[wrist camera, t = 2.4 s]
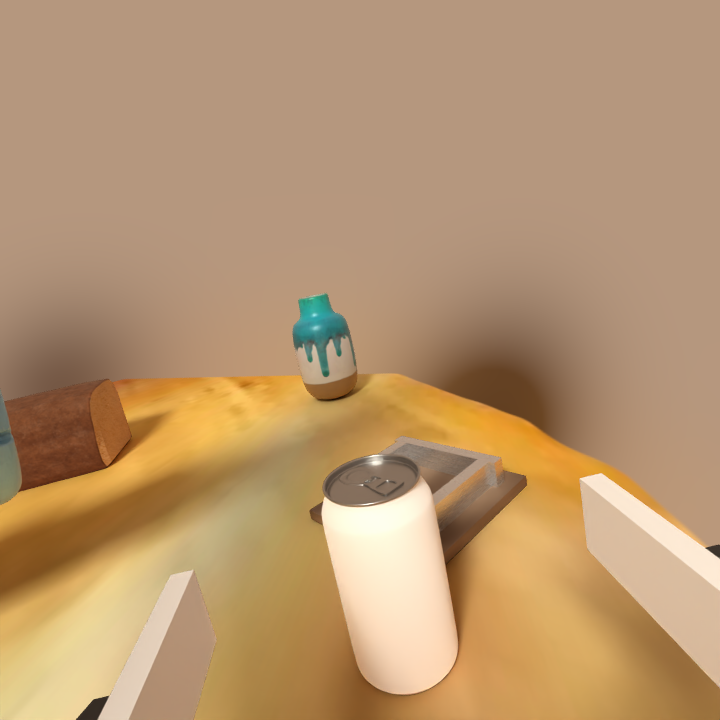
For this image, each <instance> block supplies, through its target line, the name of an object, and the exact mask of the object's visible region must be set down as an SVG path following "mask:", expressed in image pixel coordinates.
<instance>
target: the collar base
mask: <svg viewBox="0 0 720 720" xmlns="http://www.w3.org/2000/svg"><path fill="white" fill-rule="evenodd" d="M419 467H420V470H421V476H422V478H423V479H424V480H425V481H426V483H427V484H428V486H429V488H430V490H431V493H432V495H433V494H434V493H435V492H437V491H438V490H439V489H440V488H442V487H443V486H444V485H445V484H447V483H448V482H449V481H451V480H452V479H453V478H454V477H456V476H454V475H451V474H447V473H443V472H440V471H436V470H433V469H429V468H425V467H422V466H419ZM503 474H504V481H505V482H504V483H502V484H501V485H500V486H499V487H494V486H492V487H490V488H489V489H488V490H487V491H486V492H485V493H484V494H483V495H481V496H480V497H479V498H478V499H477V500H476V501H475V502H474V503H473V504H471V505H470V506H469V507H468V508H467V509H466V510H465V511H464V512H462V513H461V514H460V515H459V516H458V517H457V518H456V519H455V520H453V521H452V522H451V523H450V524H449V525H448V526H447V527H446V528H444V529H443V530H442V531H441V532H440V538H441V544H442V550H443V555H444V561H445V565H446V564H447V563H448V562H449V561H450V560H451V559H452V558H453V557H454V556H455V555H456V554H457V553H458V552H459V551H460V550H461V549H462V548H463V547H464V546H465V545H466V544H467V543H468V542H469V541H470V540H471V539H472V538H473V537H474V536H475V535H476V534H478V533H479V532H480V531H481V530H482V529H483V528H484V527H485V526H486V525H487V524H488V523H489V522H490V521H491V520H492V519H493V518H494V517H495V516H496V515H497V514H498V513H499V512H500V511H501V510H502V509H503V508H504V507H505V506H506V505H507V504H508V503H509V502H510V501H511V500H512V499H513V498H514V497H515V496H516V495H517V494H518V493H519V492H520V491H521V490H522V489H523V488H524V487H526V486H527V482H526V476H524V475H520V474H516V473H512V472H508V471H504V470H503ZM322 505H323V502H322V503H320V504H319V505H317V506H315V507H314V508H312V509H311V510H310V514H311V518H312V519H313V520H315V521H316V522H318V523H320V524H322V525H323V521H322Z"/></svg>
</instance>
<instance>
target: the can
mask: <svg viewBox="0 0 720 720" xmlns="http://www.w3.org/2000/svg"><path fill="white" fill-rule="evenodd" d="M322 489H323V493H324V495H325V498H324V501H323V505H322V521H323V526H324V531H325V535H326V540H327V544H328V548H329V552H330V557H331V561H332V565H333V569H334V573H335V578H336V582H337V586H338V590H339V594H340V598H341V603H342V607H343V611H344V615H345V619H346V623H347V627H348V631H349V635H350V639H351V643H352V647H353V651H354V655H355V659H356V662H357V665H358V668H359V670H360V672H361V674H362V675H363V677H364V678H365V679H366V680H367V681H368V682H369V683H370V684H372V685H373V686H374V687H376V688H378V689H380V690H382V691H385V692H388V693H391V694H396V695H413V694H417V693H421V692H424V691H426V690H428V689H430V688H432V687H433V686H435V685H436V684H438V683H439V682H440V681H441V680H442V679H443V678H444V677H445V676H446V675H447V674H448V673H449V671H450V670H451V668H452V667H453V665H454V663H455V660H456V657H457V653H458V637H457V630H456V624H455V618H454V612H453V606H452V601H451V595H450V589H449V583H448V578H447V572H446V566H445V561H444V555H443V550H442V544H441V538H440V533H439V527H438V522H437V516H436V511H435V506H434V501H433V496H432V493H431V490H430V488H429V486H428V484H427V483H426V481H425V480H424V479H423V478H422V476H421V470H420V467H419V465H418V464H417V463H416V462H415V461H414V460H413V459H411V458H409V457H406V456H402V455H397V454H376V455H369V456H365V457H361V458H357V459H354V460H352V461H349V462H347V463H345V464H343V465H341V466H339V467H338V468H336V469H335V470H334V471H332V472H331V473H330V474H329V475H328V476H327V477H326V479H325V481H324V483H323V487H322Z"/></svg>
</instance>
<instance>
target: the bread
mask: <svg viewBox="0 0 720 720" xmlns="http://www.w3.org/2000/svg"><path fill="white" fill-rule="evenodd" d="M4 403H5V407H6V411H7V414H8V418H9V424H10V427H11V434H12V436H13V439H14V442H15V446H16V450H17V454H18V458H19V463H20V468H21V474H22V484H21V487H20V489H19V491H18V492H20V491H24V490H27V489H31V488H35V487H38V486H42V485H46V484H50V483H53V482H57V481H61V480H65V479H69V478H72V477H76V476H80V475H83V474H87V473H90V472H94V471H97V470H101V469H104V468H107V467H108V466H109V464H110V463H111V462H112V461H113V460H114V458H115V457H116V456H117V455H118V453H119V452H120V451H121V450H122V448H123V447H124V446H125V445H126V444H127V442H128V441H129V440H130V438H131V437H132V436H131V433H130V430H129V426H128V423H127V420H126V417H125V414H124V411H123V408H122V405H121V402H120V398H119V395H118V392H117V390H116V388H115V386H114V384H113V383H112V382H111V381H110V380H109V379H104V380H98V381H92V382H86V383H81V384H76V385H72V386H68V387H63V388H59V389H55V390H51V391H47V392H42V393H37V394H33V395H29V396H25V397H21V398H17V399H13V400H9V401H4Z"/></svg>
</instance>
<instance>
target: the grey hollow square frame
mask: <svg viewBox="0 0 720 720" xmlns="http://www.w3.org/2000/svg"><path fill="white" fill-rule="evenodd" d="M378 454H397V455H402V456H406V457H409V458H411V459H413V460H414V461H415V462H416V463H417V464H418V465H419V466H422V467H425V468H429V469H433V470H436V471H440V472H443V473H447V474H451V475H454V476H456V477H454V478H453V479H452V480H451V481H449V482H448V483H447V484H445V485H444V486H443V487H442V488H440V489H439V490H438V491H437V492H435V493H434V494H433V495H432V496H433V501H434V506H435V511H436V516H437V522H438V527H439V533H440V532H441V531H442V530H443V529H444V528H446V527H447V526H448V525H449V524H450V523H451V522H452V521H453V520H455V519H456V518H457V517H458V516H459V515H460V514H461V513H462V512H464V511H465V510H466V509H467V508H468V507H469V506H470V505H471V504H473V503H474V502H475V501H476V500H477V499H478V498H479V497H480V496H481V495H483V494H484V493H485V492H486V491H487V490H488V489H489V488H490V487H492V486H494V487H499V486H500V485H501V484H502V483H504V482H505V481H504V474H503V467H502V459H501V457H496V456H492V455H487V454H482V453H478V452H473V451H469V450H464V449H460V448H455V447H450V446H446V445H441V444H437V443H432V442H428V441H423V440H418V439H414V438H409V437H405V436H401V437H399V438H397V439H396V440H395V444H393V445H391V446H390V447H388V448H386V449H385V450H383V451H382V452H380V453H378Z"/></svg>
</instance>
